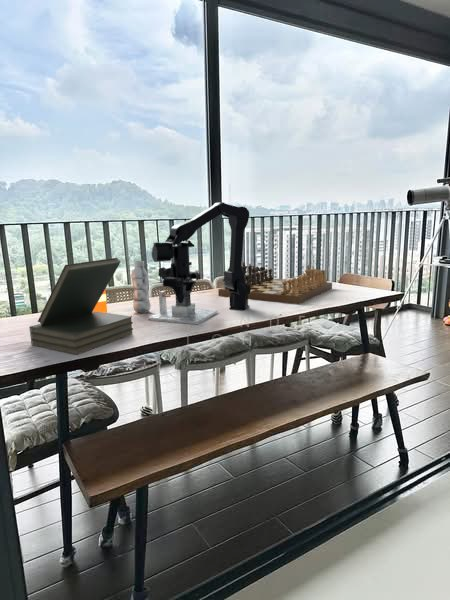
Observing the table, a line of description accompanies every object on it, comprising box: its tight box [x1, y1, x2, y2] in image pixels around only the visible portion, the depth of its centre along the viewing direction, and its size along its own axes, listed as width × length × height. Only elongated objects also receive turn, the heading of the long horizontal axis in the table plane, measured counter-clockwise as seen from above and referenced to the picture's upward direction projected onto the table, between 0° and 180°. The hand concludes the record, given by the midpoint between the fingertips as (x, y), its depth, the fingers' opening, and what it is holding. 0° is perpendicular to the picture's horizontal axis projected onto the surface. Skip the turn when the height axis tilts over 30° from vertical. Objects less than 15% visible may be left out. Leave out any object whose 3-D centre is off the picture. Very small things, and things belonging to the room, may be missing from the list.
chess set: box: [217, 261, 333, 305], centre depth 198 cm, size 40×40×15 cm
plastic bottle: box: [130, 260, 152, 314], centre depth 162 cm, size 6×7×20 cm
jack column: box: [174, 290, 192, 306], centre depth 155 cm, size 4×4×8 cm
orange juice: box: [93, 289, 108, 313], centre depth 158 cm, size 8×9×20 cm
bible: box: [29, 257, 134, 356], centre depth 127 cm, size 23×20×25 cm
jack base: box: [147, 290, 219, 325], centre depth 155 cm, size 20×18×9 cm
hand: (183, 301), depth 155 cm, fingers open, 4 cm apart
